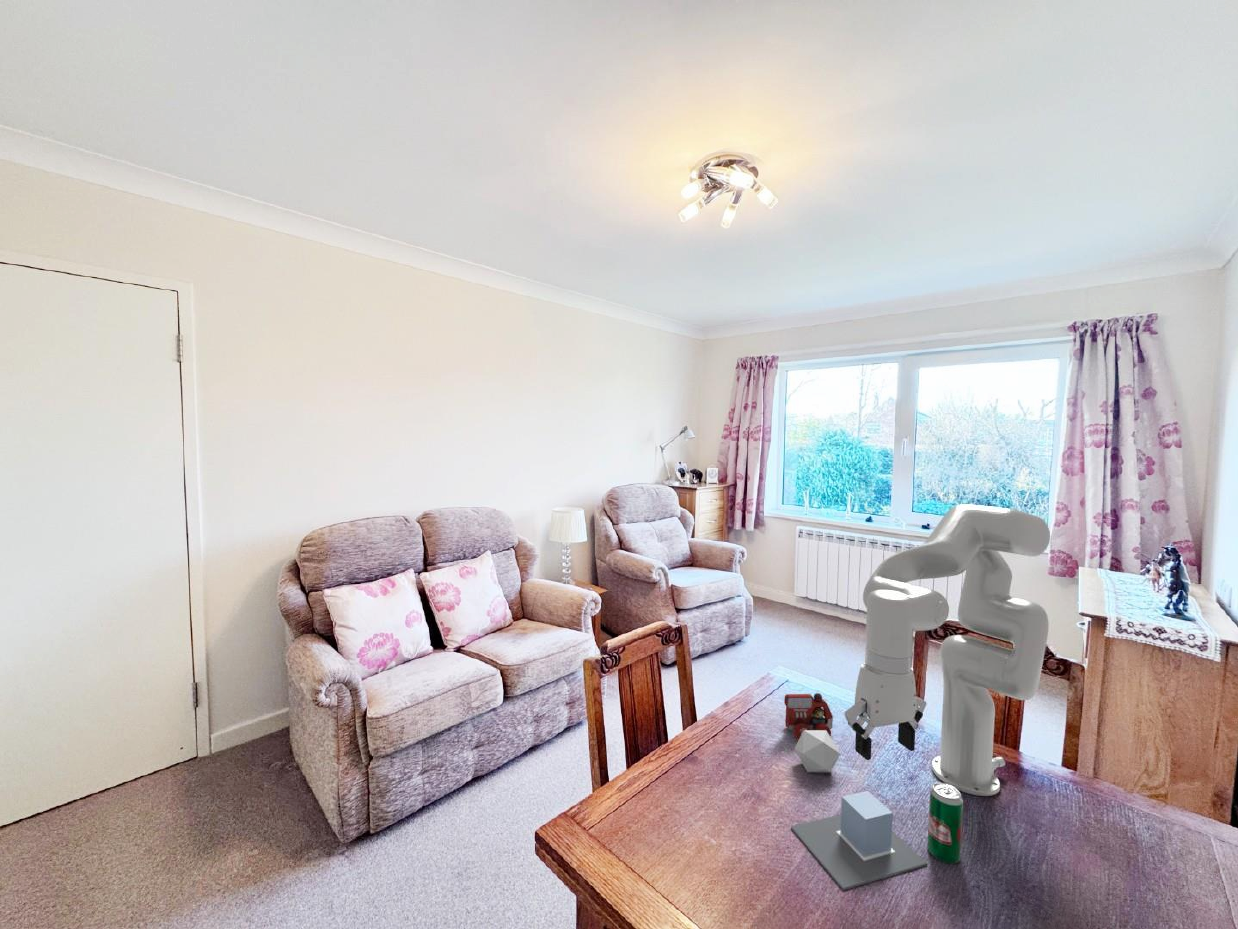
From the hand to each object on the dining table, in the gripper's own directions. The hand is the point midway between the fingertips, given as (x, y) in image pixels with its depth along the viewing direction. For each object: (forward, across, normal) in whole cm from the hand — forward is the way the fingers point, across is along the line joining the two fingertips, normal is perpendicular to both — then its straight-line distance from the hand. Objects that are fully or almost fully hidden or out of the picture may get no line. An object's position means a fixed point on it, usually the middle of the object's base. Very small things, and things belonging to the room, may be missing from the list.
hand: (884, 751), depth 93 cm
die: (+18, -3, -22) cm, 29 cm away
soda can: (+18, -9, +5) cm, 21 cm away
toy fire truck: (+18, -10, -34) cm, 40 cm away
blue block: (+18, +3, -1) cm, 18 cm away
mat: (+18, +5, -1) cm, 19 cm away
